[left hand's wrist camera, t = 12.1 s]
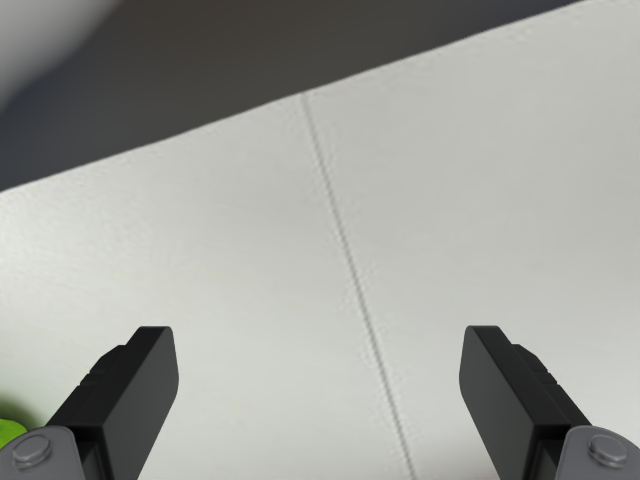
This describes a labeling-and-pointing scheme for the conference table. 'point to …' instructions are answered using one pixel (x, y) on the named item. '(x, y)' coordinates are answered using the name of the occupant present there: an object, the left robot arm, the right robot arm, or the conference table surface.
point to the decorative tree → (9, 431)
